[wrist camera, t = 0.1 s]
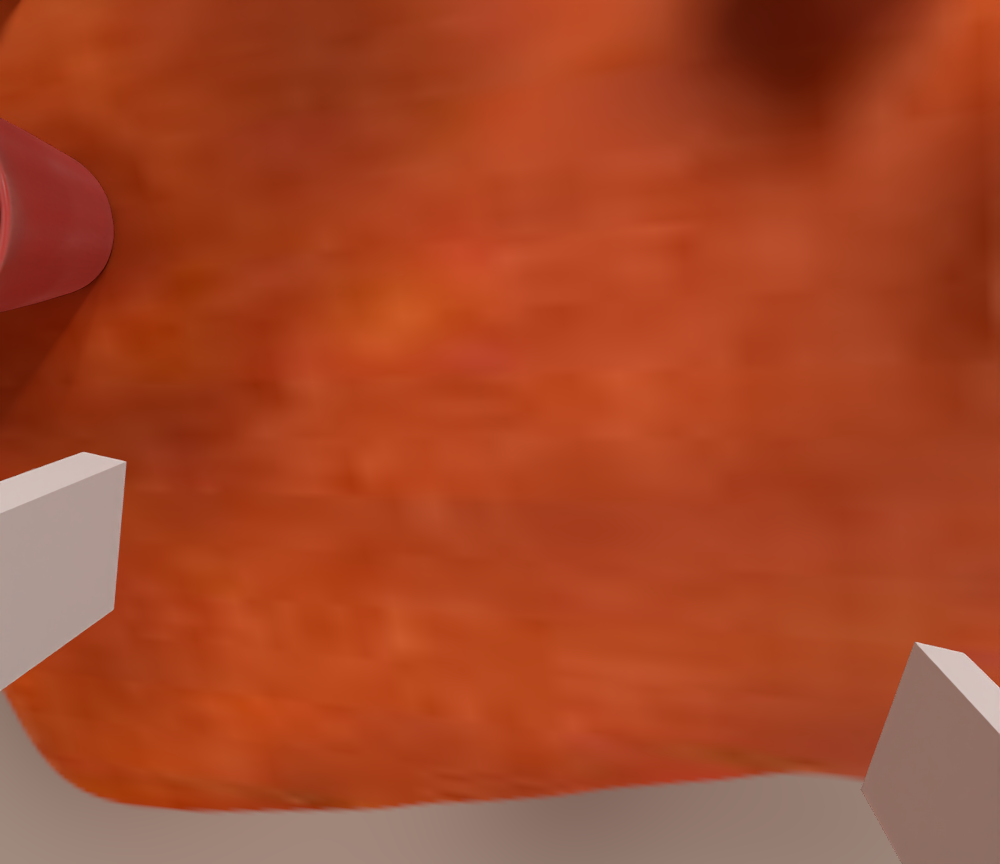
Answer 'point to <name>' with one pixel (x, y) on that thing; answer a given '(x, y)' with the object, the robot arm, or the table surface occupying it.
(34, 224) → the flower pot
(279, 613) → the table surface
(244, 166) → the table surface
